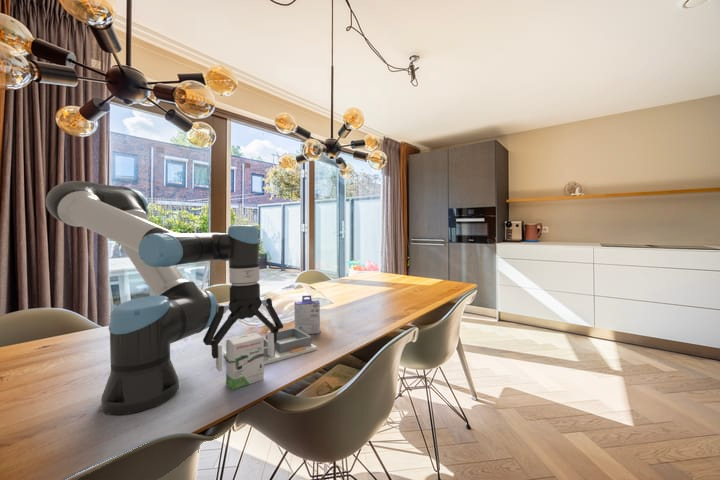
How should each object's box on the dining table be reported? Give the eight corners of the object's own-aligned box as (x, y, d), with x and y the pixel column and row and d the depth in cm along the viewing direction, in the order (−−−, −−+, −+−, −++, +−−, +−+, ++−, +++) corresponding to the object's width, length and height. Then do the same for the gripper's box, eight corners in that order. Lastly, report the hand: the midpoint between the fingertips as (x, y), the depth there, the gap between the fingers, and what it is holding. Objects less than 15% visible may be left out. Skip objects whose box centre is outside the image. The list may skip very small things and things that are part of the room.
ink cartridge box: (318, 329, 123) (318, 294, 122) (320, 333, 118) (320, 297, 117) (294, 331, 120) (294, 295, 120) (295, 335, 115) (294, 298, 114)
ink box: (232, 390, 75) (232, 344, 75) (225, 383, 79) (225, 339, 79) (264, 379, 81) (264, 336, 81) (256, 372, 85) (256, 331, 84)
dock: (237, 372, 85) (237, 358, 85) (223, 355, 97) (223, 342, 97) (316, 349, 101) (316, 337, 101) (296, 337, 113) (296, 326, 113)
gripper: (194, 291, 69) (197, 382, 69) (294, 279, 84) (295, 353, 85) (188, 287, 74) (191, 371, 75) (282, 276, 90) (284, 346, 91)
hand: (246, 362), depth 80 cm, fingers open, 13 cm apart
